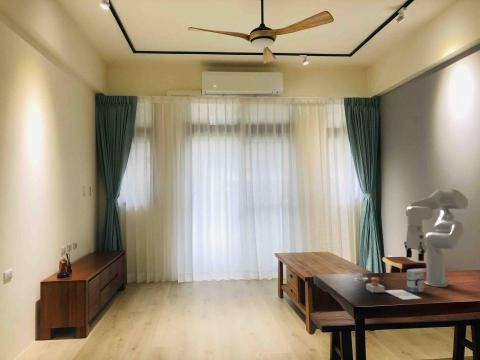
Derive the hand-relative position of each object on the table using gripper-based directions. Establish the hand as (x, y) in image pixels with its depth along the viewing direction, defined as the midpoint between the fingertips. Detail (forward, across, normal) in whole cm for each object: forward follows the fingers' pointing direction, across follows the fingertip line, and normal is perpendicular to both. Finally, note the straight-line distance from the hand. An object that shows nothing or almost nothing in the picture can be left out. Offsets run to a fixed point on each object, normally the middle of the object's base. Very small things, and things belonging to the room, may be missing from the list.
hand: (414, 259), depth 200 cm
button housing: (+18, +5, +22) cm, 29 cm away
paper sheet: (+18, -5, +12) cm, 22 cm away
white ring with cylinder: (+19, +25, +18) cm, 36 cm away
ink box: (+18, 0, 0) cm, 18 cm away
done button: (+16, +5, +22) cm, 27 cm away
